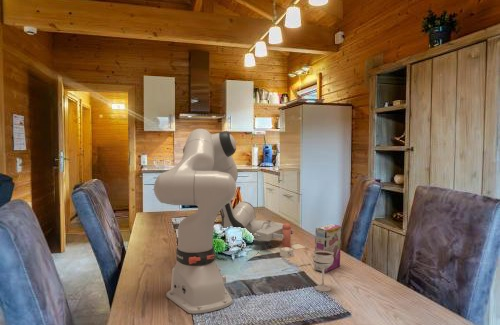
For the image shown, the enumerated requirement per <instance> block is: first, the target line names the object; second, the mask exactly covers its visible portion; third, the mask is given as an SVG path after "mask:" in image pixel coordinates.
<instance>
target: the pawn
mask: <svg viewBox="0 0 500 325" xmlns="http://www.w3.org/2000/svg"><path fill="white" fill-rule="evenodd" d="M283 224H284V225H283V227H282V228H283V234H284V238H283V239H282V242H281V243H282V244H281V246H280V247H281V248H285V247H288V248H291V249H292V246H291V245H292V244H291V238H292V237H291V235H292V234H291V230H292V226H291V224H290V223H288V222H285V223H283Z"/></svg>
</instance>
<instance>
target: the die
mask: <svg viewBox="0 0 500 325" xmlns="http://www.w3.org/2000/svg"><path fill="white" fill-rule="evenodd" d="M279 256H280V257H281V258H282V257H283V258H286V259H289V258H291V257H294V250H293V249H291V248H288V247H285V248H281V249H280V252H279Z"/></svg>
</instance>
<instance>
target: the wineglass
mask: <svg viewBox="0 0 500 325" xmlns="http://www.w3.org/2000/svg"><path fill="white" fill-rule="evenodd" d="M333 254H334V253H333V252H332V251H329V250H315V249H314V250H313V257H312V260H313V262H314V265H315V264H316V265H317V266H318V267H320V268H321V269H322V272H321V276H322V277H321V278H322V279H321V280H322V281H321V282H322V284H318V285H316V286H315V290H317V291H319V292H329V291H330V290H331V287H330V286H328V285H325V284H324V282H325V281H324V280H325V273H324V270H325V269H326V268H329V267H330V266H331V265H332V264H333V262H334V257H333Z"/></svg>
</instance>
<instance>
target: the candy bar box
mask: <svg viewBox="0 0 500 325" xmlns="http://www.w3.org/2000/svg"><path fill="white" fill-rule="evenodd" d="M314 238H315V239H314V240H315V242H314V244H315V245H314V248H315V249H314V251H315V250H329V251H332V252H333V253H334V254H333V257H334V262H333V264H332V265H331V266H330V267H329V268H326V269H325V270H324V274H326V273H328V272H330V271H332V270H334V269H337V268H339V267H341V246H342V245H341V243H342V225H339V224H338V225H337V224H334V223H330V224H329V223H328V224H326V225H323V226H319V227H315V237H314ZM313 270H315V271H317V272H319V273H322V269H321V268H320V267H318V266H317V265H316V264H315V263H314V269H313Z"/></svg>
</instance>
